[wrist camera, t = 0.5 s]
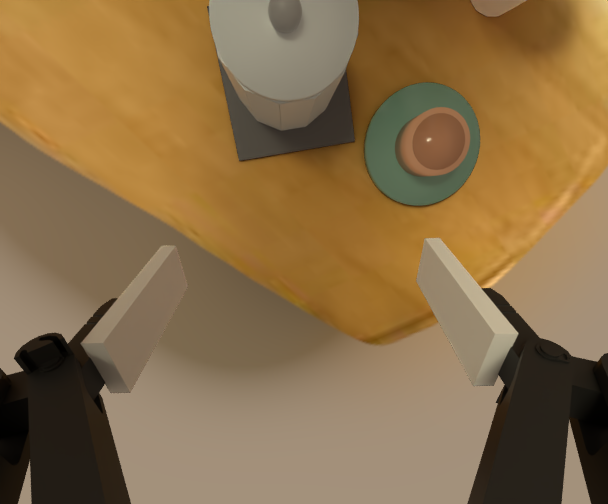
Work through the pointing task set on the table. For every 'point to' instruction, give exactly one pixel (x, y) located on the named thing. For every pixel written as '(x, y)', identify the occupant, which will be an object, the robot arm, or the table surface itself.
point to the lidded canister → (284, 54)
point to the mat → (271, 141)
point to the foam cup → (495, 6)
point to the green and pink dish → (422, 144)
